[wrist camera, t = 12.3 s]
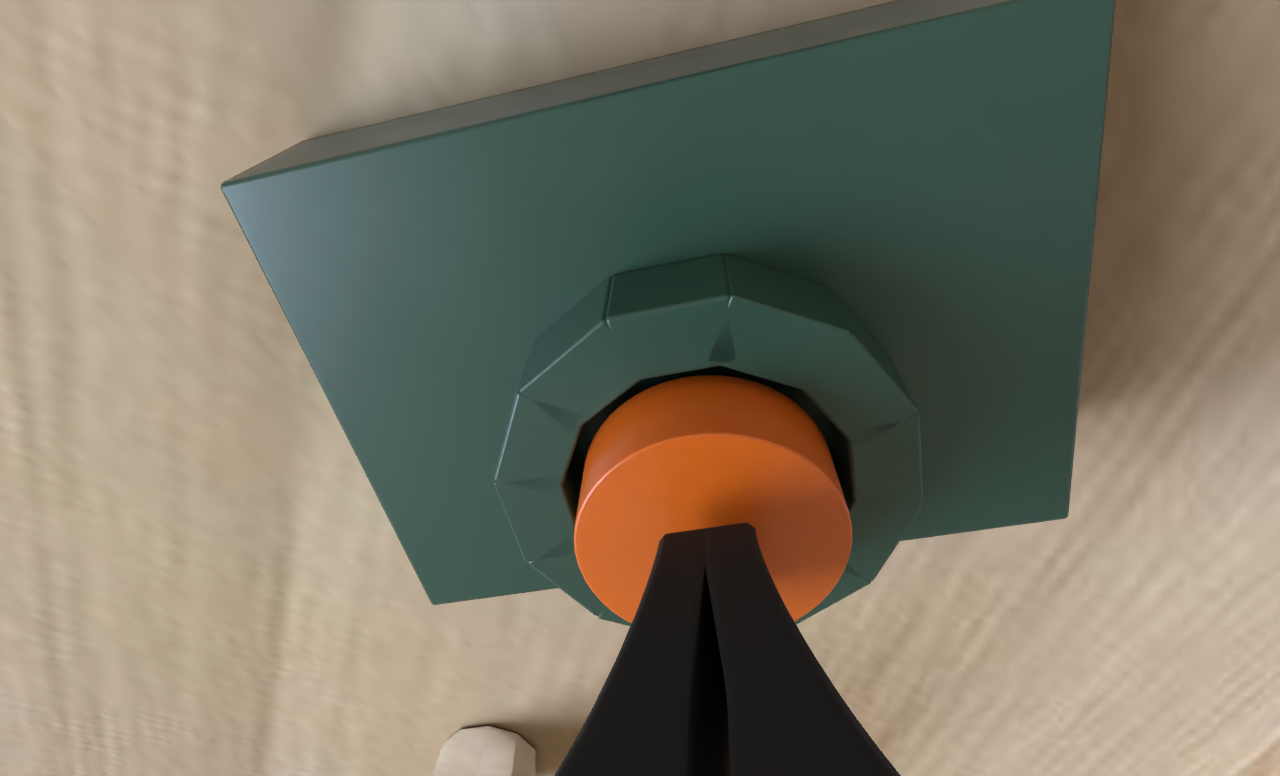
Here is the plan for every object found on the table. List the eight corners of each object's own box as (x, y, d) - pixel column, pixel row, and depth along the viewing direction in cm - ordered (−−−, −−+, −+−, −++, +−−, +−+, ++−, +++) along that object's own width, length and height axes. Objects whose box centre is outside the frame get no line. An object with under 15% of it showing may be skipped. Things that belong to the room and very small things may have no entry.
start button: (555, 398, 12) (539, 460, 11) (818, 352, 12) (841, 410, 10) (615, 584, 15) (609, 657, 13) (841, 553, 14) (862, 626, 12)
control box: (299, 140, 15) (150, 218, 11) (1024, -30, 13) (1201, -21, 9) (466, 520, 20) (410, 677, 16) (1007, 437, 18) (1114, 590, 14)
